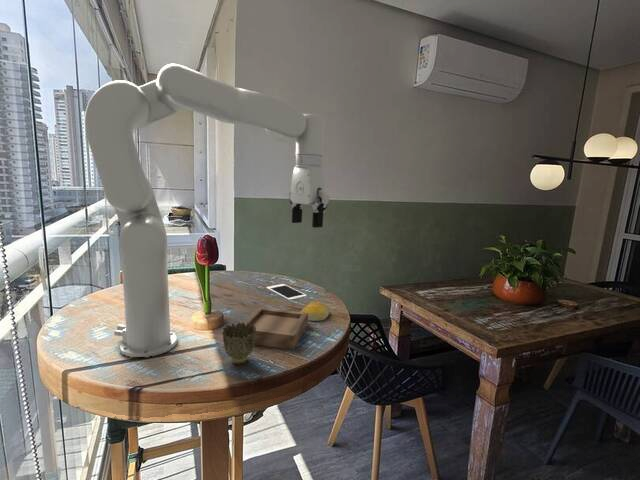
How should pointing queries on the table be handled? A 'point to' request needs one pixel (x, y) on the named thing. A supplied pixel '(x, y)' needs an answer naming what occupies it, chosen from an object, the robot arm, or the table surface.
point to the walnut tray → (278, 327)
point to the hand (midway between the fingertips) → (306, 224)
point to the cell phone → (286, 291)
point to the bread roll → (316, 311)
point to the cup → (239, 341)
